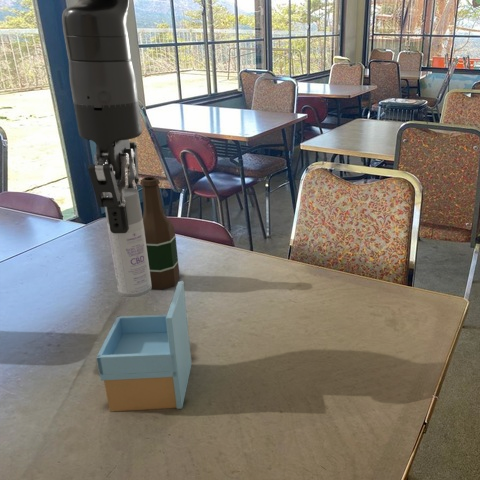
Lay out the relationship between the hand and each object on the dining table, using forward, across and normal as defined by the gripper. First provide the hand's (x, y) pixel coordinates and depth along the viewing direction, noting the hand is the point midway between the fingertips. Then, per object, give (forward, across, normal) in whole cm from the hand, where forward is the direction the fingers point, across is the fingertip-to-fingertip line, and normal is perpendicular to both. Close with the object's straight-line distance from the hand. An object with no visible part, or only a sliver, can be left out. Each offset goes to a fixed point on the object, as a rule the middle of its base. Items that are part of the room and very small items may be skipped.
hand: (125, 224), depth 67 cm
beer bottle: (+27, -33, -4) cm, 43 cm away
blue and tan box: (+27, +2, +1) cm, 27 cm away
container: (+11, 0, 0) cm, 11 cm away
